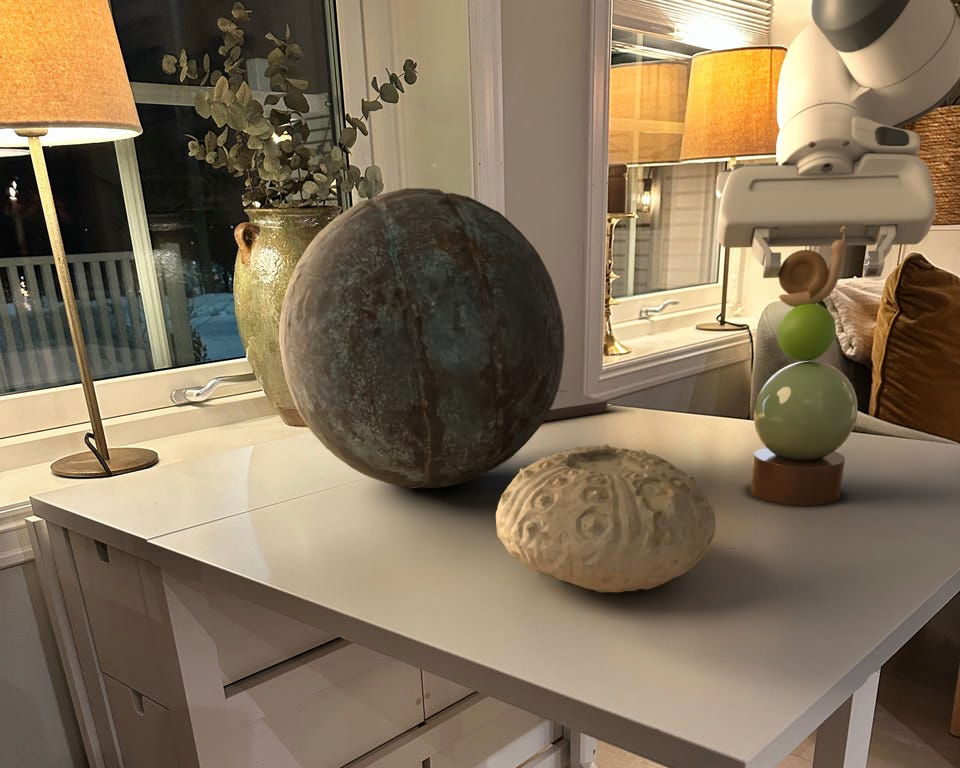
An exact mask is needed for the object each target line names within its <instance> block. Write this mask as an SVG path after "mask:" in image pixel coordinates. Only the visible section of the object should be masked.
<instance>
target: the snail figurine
mask: <svg viewBox="0 0 960 768" xmlns="http://www.w3.org/2000/svg"><path fill="white" fill-rule="evenodd" d="M846 229H847V228H846V226H843V227H842V228H841V229H840V232H841V233H843V240H836V241H835V242H834V243H833V244H832V246H830V252H831V258H830V263H829V266H828V264H827V261H826V259H825V257H823V256H822V255H821V254H820V253H818V252H817V251H814V250H811V249H800V250H797V251H795V252H792V253H791V254H789V256H787V257H786V258H785V259H784V260H783V262H782V263H781V268H780V272H779V278H778V282H779V285H780V287H781V288H782V290H783V291H784V292H785V294H780V295H778V298H779V299H780V301H781V302H783V303H784V304H785V305H786V306H788V307H792V308H791V309H790V310H789V311H787V313H785V315H784V316H783V317H782V318H781V320H780V323H779V325H778V328H777V343H778V345H779V347H780V349H781V351H782V352H783V354H785V355H786V356H787V357H788V358H790V359H791V360H794V361H797V362H804V361H814V360H816V359H818V358H819V357H821V356H823V355H824V354H825V353H826V352H827V351H828V350H829V349H830V347H831V346H832V345H833V343H834V340H835V337H836V331H837V327H836V323H835V322H836V321H835V319H834V316H833V315H832V313H831V312H830V311H829V309H827V308H826V307H824V306H822V305H821V304H818V303H819V302H822V301H823V300H825V299H826V298H828V297H829V296H830V295H831V294H832V293H833V291H834V289H835V288H836V286H837V285H838V281H839V278H840V276H841V271H842V267H843V263H844V256H845V253H846V251H847V248H846V247H848V246H847V244H846V242H845V241H844V238H845V232H846ZM786 293H787V294H786Z"/></svg>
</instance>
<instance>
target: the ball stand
mask: <svg viewBox="0 0 960 768" xmlns="http://www.w3.org/2000/svg"><path fill="white" fill-rule="evenodd" d="M858 404H859V403H858V398H857V393H856V390H855V388H854V385H853V384H852V382H851V381H850V380H849V378H848V377H847V375H845V374H844V373H843V371H841V370H839V369H838V368H837V367H835V366H833V365H831V364H828V363H825V362H823V361H822V362H821V361H814V360H809V361H797V362H795V363H791V364H788V365H786V366H784V367H783V368H781V369H779V370H777V371H776V372H775V373H774V374H773V375H771V376H770V377H769V378H768V380H766V382H765V383H764V384H763V386H762V387H761V389H760V390H759V392H758V395H757V397H756V400H755V404H754V409H753V424H754V428H755V431H756V433H757V436H758V438H759V440H760V442H761V443H762V444H763V446H764V447H763V448H760V449H758V450H756V451H754V454H753V463H752V472H751V473H752V474H751V482H750V493H751V495H753V497H756V498H757V499H760V500H764V501H766V502H769V503H770V502H771V503H774V504H780V505H788V506H820V505H826V504H831V503H833V502H835V501H837V500H839V498H840V495H841V490H842V489H841V488H842V482H843V475H844V470H845V464H846V463H845V462H846V457H845V456H844V455H843V454H841V453H839V452H837V450H838V449H840V447H841V446H843V444H845V442H846V441H847V440H848V439H849V437H850V435H851V433H852V432H853V430H854V428H855V425H856V422H857V419H858V409H859V406H858Z"/></svg>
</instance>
